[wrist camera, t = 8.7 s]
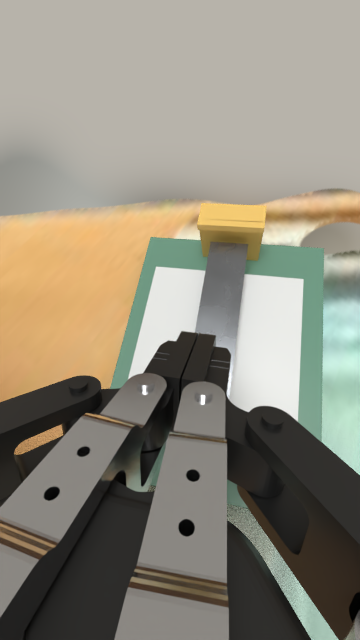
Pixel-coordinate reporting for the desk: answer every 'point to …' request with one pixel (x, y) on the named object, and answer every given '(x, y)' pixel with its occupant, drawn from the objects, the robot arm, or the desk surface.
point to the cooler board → (265, 267)
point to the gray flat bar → (223, 296)
